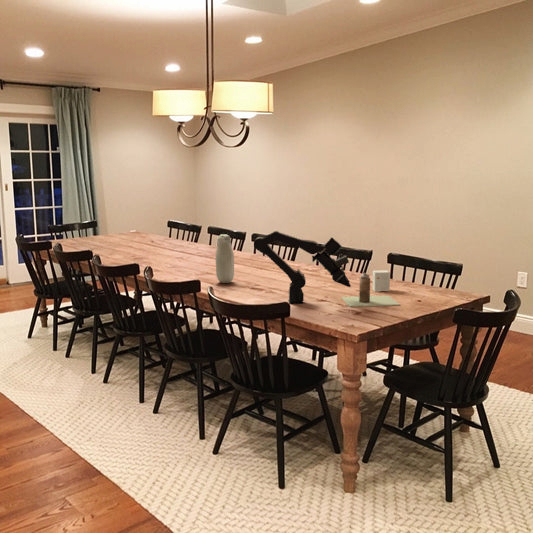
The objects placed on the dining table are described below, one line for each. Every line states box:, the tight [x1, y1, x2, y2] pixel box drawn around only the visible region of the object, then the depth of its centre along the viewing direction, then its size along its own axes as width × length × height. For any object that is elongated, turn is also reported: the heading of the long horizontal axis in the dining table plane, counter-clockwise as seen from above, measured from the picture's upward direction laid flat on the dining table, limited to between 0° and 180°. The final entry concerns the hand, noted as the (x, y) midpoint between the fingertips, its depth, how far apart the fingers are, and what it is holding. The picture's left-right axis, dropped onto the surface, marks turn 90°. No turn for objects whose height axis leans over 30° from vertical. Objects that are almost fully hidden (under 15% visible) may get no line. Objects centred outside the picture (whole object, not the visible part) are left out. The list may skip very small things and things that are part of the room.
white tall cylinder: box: [214, 233, 235, 284], centre depth 313 cm, size 10×10×28 cm
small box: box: [372, 269, 391, 293], centre depth 290 cm, size 8×6×10 cm
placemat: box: [341, 295, 400, 308], centre depth 267 cm, size 24×18×1 cm
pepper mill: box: [358, 272, 371, 303], centre depth 264 cm, size 5×5×14 cm
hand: (349, 284), depth 264 cm, fingers open, 9 cm apart
